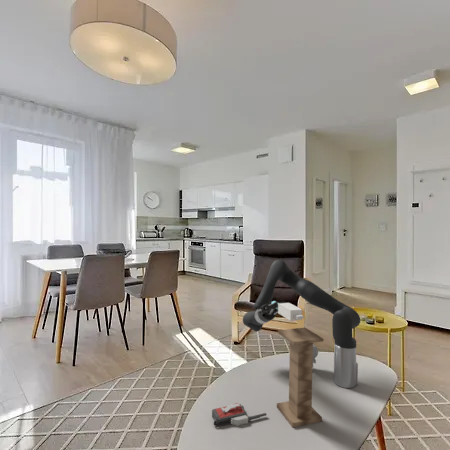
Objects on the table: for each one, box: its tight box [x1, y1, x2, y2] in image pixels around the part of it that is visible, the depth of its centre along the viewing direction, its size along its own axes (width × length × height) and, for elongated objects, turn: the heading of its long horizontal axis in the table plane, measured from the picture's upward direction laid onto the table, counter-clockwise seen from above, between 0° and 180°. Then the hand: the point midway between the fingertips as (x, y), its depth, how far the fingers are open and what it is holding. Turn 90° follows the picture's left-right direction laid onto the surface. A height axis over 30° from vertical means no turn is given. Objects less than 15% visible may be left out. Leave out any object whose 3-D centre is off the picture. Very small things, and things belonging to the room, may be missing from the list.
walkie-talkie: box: [211, 402, 267, 427], centre depth 111 cm, size 9×4×20 cm
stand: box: [276, 327, 324, 428], centre depth 113 cm, size 12×12×30 cm
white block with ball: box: [270, 300, 304, 322], centre depth 124 cm, size 5×23×4 cm, turn 18°
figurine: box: [312, 344, 319, 369], centre depth 149 cm, size 8×8×12 cm
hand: (280, 304), depth 128 cm, fingers closed on white block with ball, 2 cm apart
